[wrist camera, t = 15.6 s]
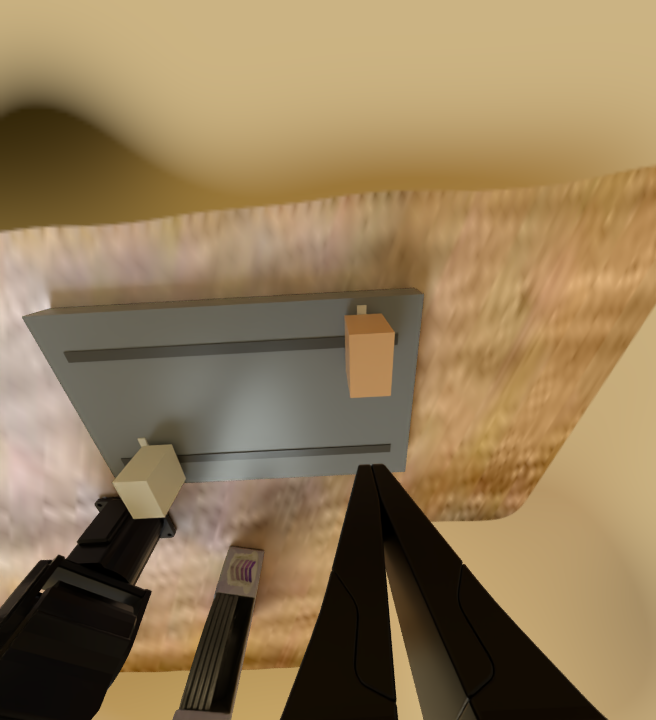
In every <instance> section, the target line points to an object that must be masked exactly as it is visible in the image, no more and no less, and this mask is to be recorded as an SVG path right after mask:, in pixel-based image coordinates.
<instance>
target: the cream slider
mask: <svg viewBox="0 0 656 720" xmlns="http://www.w3.org/2000/svg"><path fill="white" fill-rule="evenodd" d="M185 479H186V478H185V475H184V473H183V470H182V468H181V466H180V463H179V461H178V458H177V456H176V453H175V451H174V449H173V446H172V444H170V445H151V446H142V447H141V448H140V450H139V451H138V452H137V453H136V454H135V456H134V457H133V458H132V459H131V460H130V462H129V463H128V464H127V465H126V466H125V468H124V469H123V470H122V471H121V472H120V474H119V475H118V476H117V477H116V478H115V480H114V481H113V482H112V484H113V485H114V487H115V489H116V490H117V492H118V494H119V495H120V497H121V499H122V500H123V502H124V504H125V506H126V507H127V509H128V511H129V512H130V514H131V516H132V517H133V519H142V518H162V517H165V516H166V514H167V512H168V510H169V509H170V507H171V505H172V503H173V501H174V500H175V498H176V496H177V494H178V492H179V490H180V489H181V487H182V485H183V483H184V481H185Z"/></svg>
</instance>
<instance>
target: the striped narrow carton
mask: <svg viewBox="0 0 656 720" xmlns="http://www.w3.org/2000/svg"><path fill="white" fill-rule="evenodd" d="M263 557H264V550H257V549H249V548H243V547H235V546H230V547H229V550H228V553H227V556H226V559H225V562H224V565H223V568H222V571H221V575H220V578H219V581H218V584H217V588H216V591H215V595H214V601H213V603H212V606H211V609H210V612H209V615H208V617H207V620H206V623H205V626H204V629H203V632H202V635H201V638H200V641H199V644H198V647H197V651H196V654H195V657H194V660H193V663H192V667H191V670H190V673H189V676H188V680H187V683H186V686H185V690H184V693H183V696H182V699H181V703H180V707H179V709H178V710H176V712H175V714H174V717H173V720H231V717H232V712H233V707H234V703H235V698H236V693H237V689H238V684H239V679H240V674H241V670H242V665H243V660H244V655H245V650H246V645H247V641H248V636H249V631H250V626H251V621H252V616H253V611H254V606H255V601H256V595H257V590H258V584H259V579H260V573H261V568H262V562H263Z"/></svg>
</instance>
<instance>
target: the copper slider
mask: <svg viewBox="0 0 656 720" xmlns="http://www.w3.org/2000/svg"><path fill="white" fill-rule="evenodd" d="M344 320H345V360H346V375H347V381H348V387H349V393H350V398H361V397H380V396H391V385H392V370H393V354H394V338H395V332H394V330H393V329H392V328H391V326H390V325H389V323H388V322H387V320H386V319H385V318H384V316H383V315H382V313H380V314H362V315H344Z"/></svg>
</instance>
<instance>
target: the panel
mask: <svg viewBox="0 0 656 720" xmlns="http://www.w3.org/2000/svg"><path fill="white" fill-rule="evenodd" d="M423 299H424V294H423V293H422V292H420V291H419V290H417V289H415V288H403V289H385V290H367V291H350V292H332V293H314V294H296V295H279V296H261V297H243V298H225V299H208V300H190V301H172V302H154V303H137V304H119V305H101V306H83V307H66V308H50V309H46V310H43V311H39V312H36V313H32V314H29V315H26V316H22V318H23V320H24V322H25V323H26V325H27V327H28V328H29V330H30V332H31V334H32V335H33V337H34V339H35V341H36V342H37V344H38V346H39V347H40V349H41V351H42V353H43V354H44V356H45V358H46V360H47V361H48V363H49V365H50V366H51V368H52V370H53V372H54V373H55V375H56V377H57V379H58V380H59V382H60V384H61V385H62V387H63V389H64V391H65V392H66V394H67V396H68V398H69V399H70V401H71V403H72V404H73V406H74V408H75V410H76V411H77V413H78V415H79V417H80V418H81V420H82V422H83V423H84V425H85V427H86V429H87V430H88V432H89V434H90V436H91V437H92V439H93V441H94V443H95V444H96V446H97V448H98V449H99V451H100V453H101V455H102V456H103V458H104V460H105V462H106V463H107V465H108V467H109V468H110V470H111V472H112V474H113V475H114V477H115V478H116V477H117V476H118V475H119V474H120V472H121V471H122V470H123V469H124V468H125V466H126V465H127V464H128V463H129V462H130V460H131V459H132V458H133V457H134V456H135V454H136V453H137V452H138V451H139V450H140V448H141V447H142V446H151V445H170V444H172V446H173V449H174V451H175V453H176V456H177V458H178V461H179V463H180V466H181V468H182V470H183V473H184V475H185V478H186V479H185V481H184V483H195V482H214V481H234V480H253V479H272V478H292V477H311V476H330V475H349V474H356V472H357V468H358V466H359V465H361V464H370V465H372V464H380V463H382V464H384V465H385V466H386V467H387V468H388V469H389V471H390V472H405V468H406V458H407V449H408V440H409V430H410V421H411V411H412V402H413V393H414V383H415V374H416V365H417V355H418V346H419V337H420V327H421V318H422V309H423ZM380 313H382V315H383V316H384V318H385V319H386V320H387V322H388V323H389V325H390V326H391V328H392V329H393V330H394V332H395V338H394V354H393V370H392V385H391V396H380V397H361V398H350V393H349V387H348V381H347V375H346V360H345V320H344V315H362V314H380Z"/></svg>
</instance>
